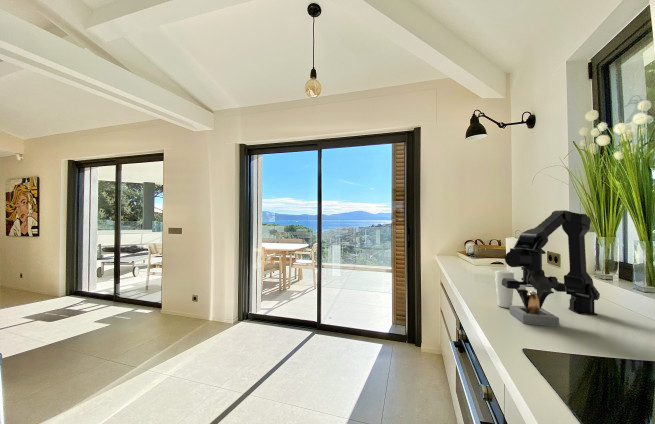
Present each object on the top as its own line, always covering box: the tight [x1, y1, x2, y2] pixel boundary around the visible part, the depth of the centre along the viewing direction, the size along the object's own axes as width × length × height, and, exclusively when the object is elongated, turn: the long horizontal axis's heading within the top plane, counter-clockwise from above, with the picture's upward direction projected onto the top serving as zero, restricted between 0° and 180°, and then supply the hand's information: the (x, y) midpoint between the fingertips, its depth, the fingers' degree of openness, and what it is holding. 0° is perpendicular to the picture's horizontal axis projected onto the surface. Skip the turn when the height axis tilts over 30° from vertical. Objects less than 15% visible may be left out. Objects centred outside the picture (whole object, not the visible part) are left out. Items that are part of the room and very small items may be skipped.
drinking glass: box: [494, 269, 515, 309], centre depth 114 cm, size 7×7×15 cm
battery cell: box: [526, 290, 540, 314], centre depth 99 cm, size 4×4×8 cm
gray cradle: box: [509, 304, 560, 328], centre depth 99 cm, size 11×11×3 cm
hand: (532, 307), depth 99 cm, fingers closed on battery cell, 4 cm apart
